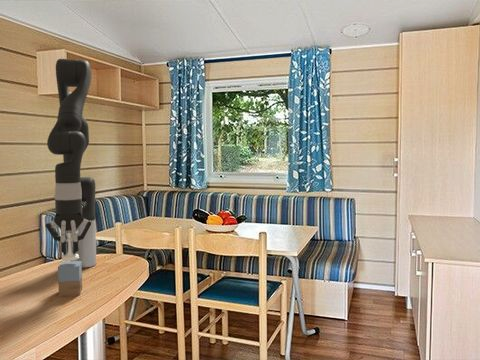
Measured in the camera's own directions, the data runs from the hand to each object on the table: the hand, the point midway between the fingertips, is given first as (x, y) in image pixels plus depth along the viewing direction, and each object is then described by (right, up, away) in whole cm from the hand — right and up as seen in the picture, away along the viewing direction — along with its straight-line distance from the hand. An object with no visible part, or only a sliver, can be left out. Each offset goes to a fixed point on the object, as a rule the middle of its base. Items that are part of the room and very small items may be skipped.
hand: (70, 253), depth 128 cm
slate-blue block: (0, -8, +1) cm, 8 cm away
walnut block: (0, -12, +1) cm, 12 cm away
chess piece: (0, -2, 0) cm, 2 cm away
